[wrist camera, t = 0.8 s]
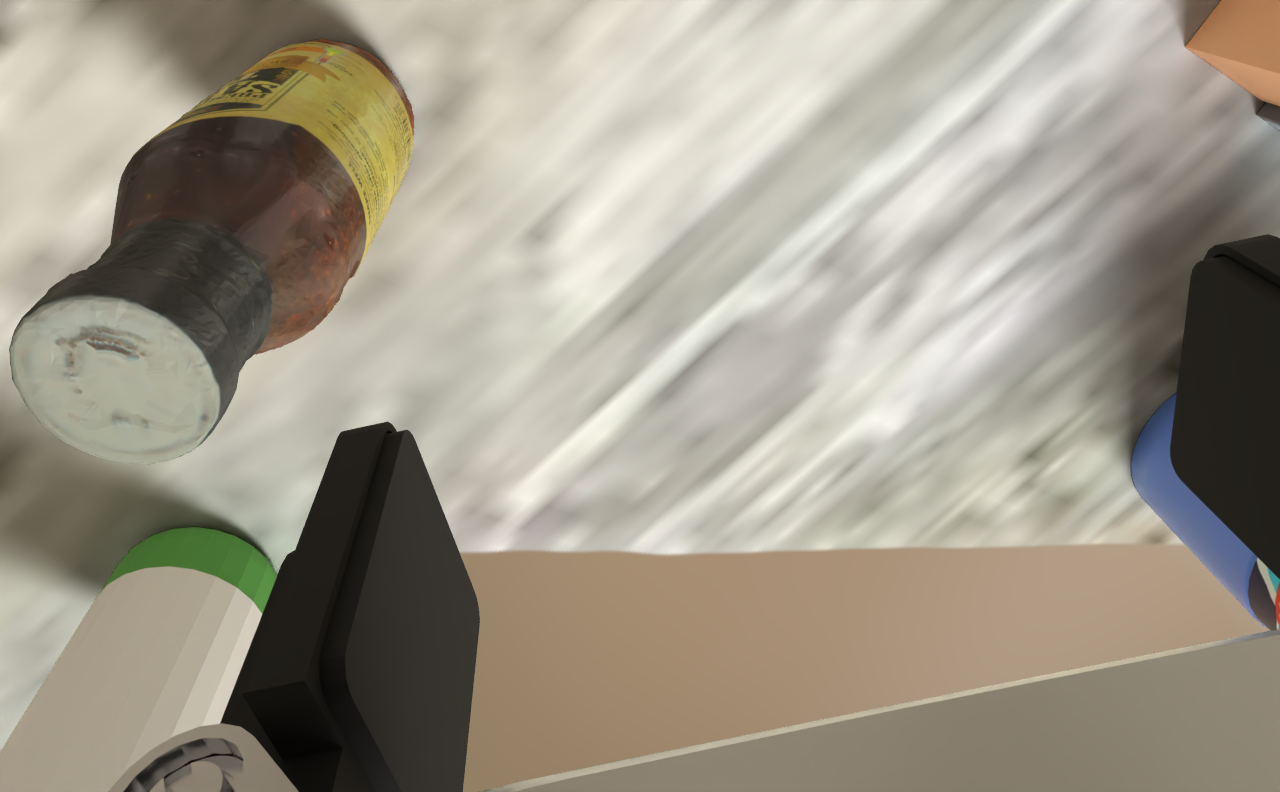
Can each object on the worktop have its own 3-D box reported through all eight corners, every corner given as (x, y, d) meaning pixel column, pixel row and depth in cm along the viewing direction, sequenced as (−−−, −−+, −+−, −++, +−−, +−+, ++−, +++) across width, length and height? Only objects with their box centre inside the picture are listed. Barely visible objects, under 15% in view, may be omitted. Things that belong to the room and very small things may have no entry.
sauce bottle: (318, -5, 33) (59, 134, 16) (453, 119, 35) (359, 357, 18) (212, 126, 35) (-120, 379, 18) (348, 236, 37) (173, 550, 20)
